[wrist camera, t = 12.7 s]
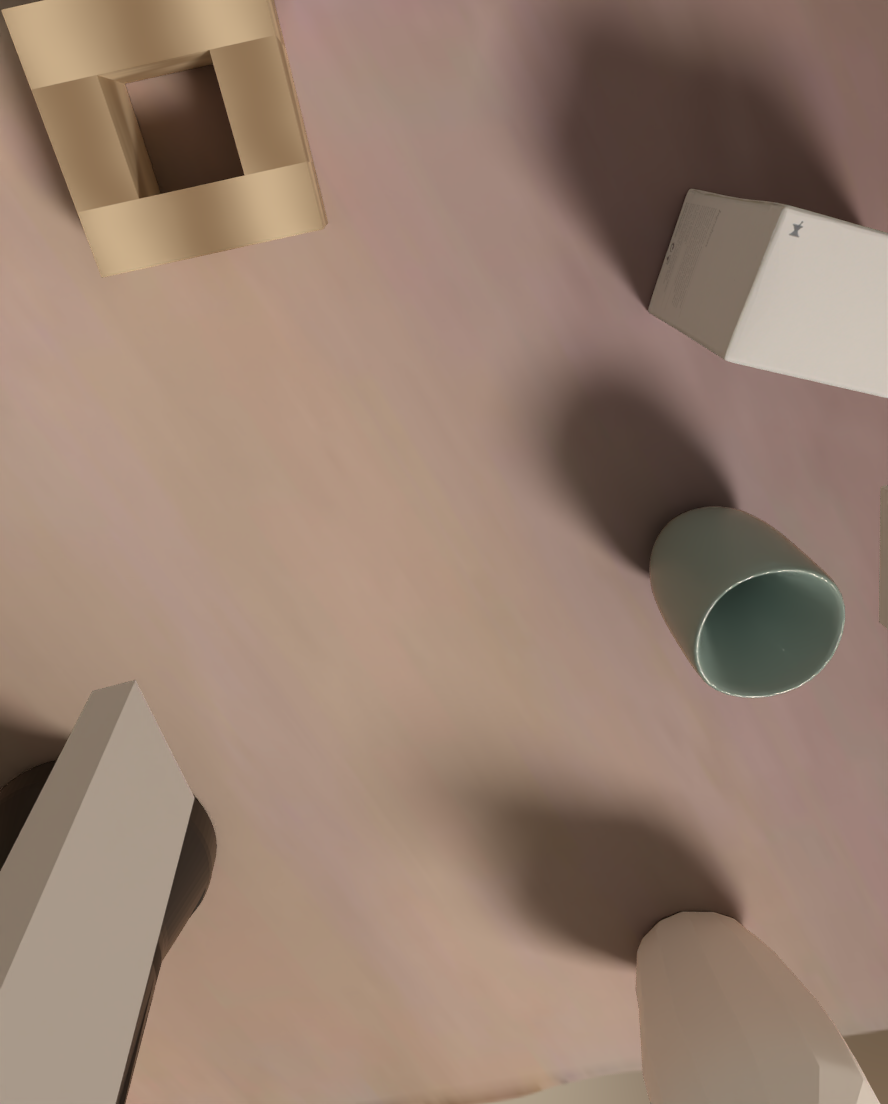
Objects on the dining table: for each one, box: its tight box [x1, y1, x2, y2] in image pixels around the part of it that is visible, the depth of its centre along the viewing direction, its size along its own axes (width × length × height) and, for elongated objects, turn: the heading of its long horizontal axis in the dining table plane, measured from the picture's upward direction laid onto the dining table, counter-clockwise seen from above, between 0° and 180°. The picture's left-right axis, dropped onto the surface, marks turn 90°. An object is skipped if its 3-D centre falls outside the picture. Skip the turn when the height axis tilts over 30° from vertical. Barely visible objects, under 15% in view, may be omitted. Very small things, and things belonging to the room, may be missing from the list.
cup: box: [649, 506, 845, 698], centre depth 43 cm, size 8×8×10 cm
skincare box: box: [648, 189, 888, 398], centre depth 37 cm, size 10×6×10 cm, turn 77°
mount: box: [1, 0, 328, 278], centre depth 34 cm, size 10×10×4 cm
